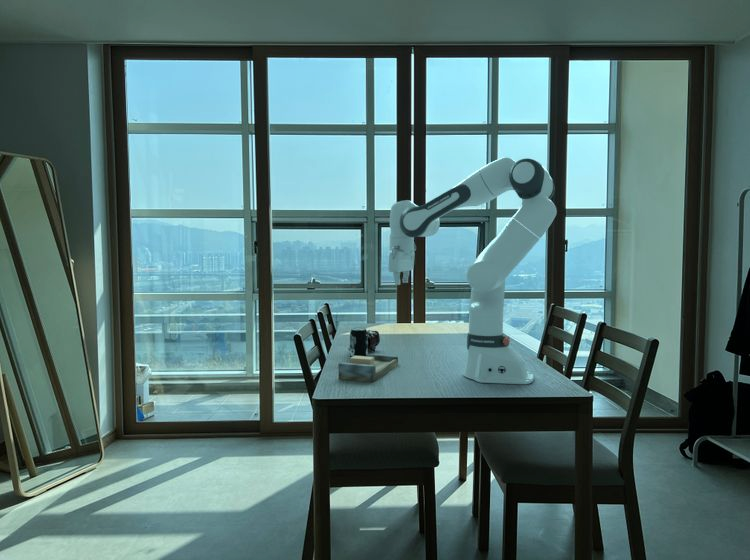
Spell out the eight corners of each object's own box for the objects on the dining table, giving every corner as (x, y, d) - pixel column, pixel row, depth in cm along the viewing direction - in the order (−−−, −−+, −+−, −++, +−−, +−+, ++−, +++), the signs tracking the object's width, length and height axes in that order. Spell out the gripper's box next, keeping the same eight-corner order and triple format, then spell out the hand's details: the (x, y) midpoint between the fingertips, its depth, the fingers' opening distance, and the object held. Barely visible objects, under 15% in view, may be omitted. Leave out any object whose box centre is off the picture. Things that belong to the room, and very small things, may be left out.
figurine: (372, 357, 216) (355, 367, 200) (356, 339, 219) (338, 347, 202) (388, 341, 213) (371, 350, 197) (371, 323, 215) (353, 331, 199)
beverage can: (365, 362, 191) (365, 330, 190) (348, 361, 193) (348, 329, 192) (369, 358, 198) (369, 327, 197) (352, 358, 199) (352, 327, 198)
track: (398, 364, 188) (398, 350, 188) (373, 382, 164) (373, 366, 163) (367, 361, 192) (367, 348, 192) (338, 378, 168) (338, 363, 167)
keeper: (374, 372, 172) (374, 357, 171) (370, 374, 168) (370, 359, 168) (354, 370, 174) (354, 355, 174) (350, 373, 170) (350, 358, 170)
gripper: (401, 245, 178) (401, 286, 179) (417, 245, 197) (417, 282, 198) (384, 245, 180) (384, 285, 181) (401, 245, 199) (401, 281, 200)
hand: (401, 283), depth 190 cm, fingers open, 8 cm apart
